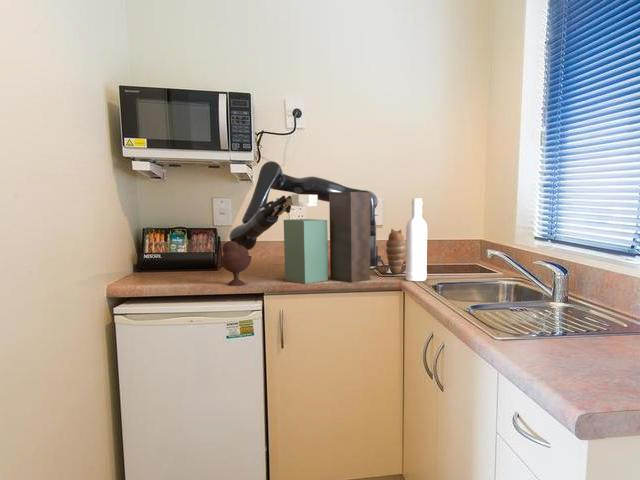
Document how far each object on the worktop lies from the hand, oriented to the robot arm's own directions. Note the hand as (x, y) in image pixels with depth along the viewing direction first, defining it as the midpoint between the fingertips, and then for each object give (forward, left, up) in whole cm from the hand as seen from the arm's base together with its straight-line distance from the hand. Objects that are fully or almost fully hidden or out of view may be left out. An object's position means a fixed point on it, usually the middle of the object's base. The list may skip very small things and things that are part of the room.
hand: (288, 197), depth 189 cm
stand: (-12, +20, -30) cm, 38 cm away
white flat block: (0, +4, -3) cm, 5 cm away
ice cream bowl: (+22, -2, -30) cm, 37 cm away
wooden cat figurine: (-34, +23, -30) cm, 51 cm away
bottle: (-28, +38, -30) cm, 56 cm away
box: (0, +9, -30) cm, 31 cm away
